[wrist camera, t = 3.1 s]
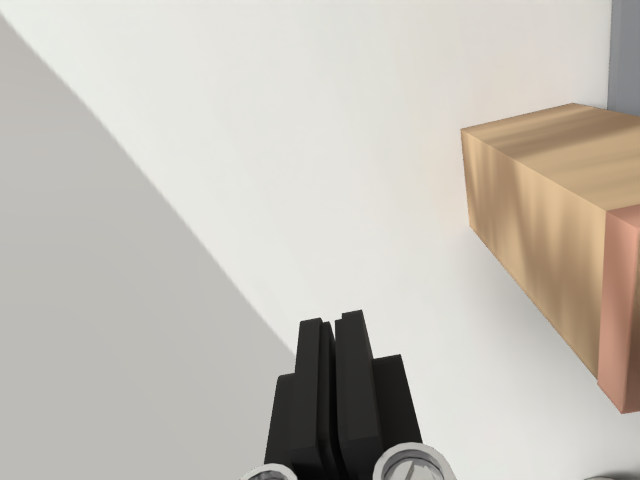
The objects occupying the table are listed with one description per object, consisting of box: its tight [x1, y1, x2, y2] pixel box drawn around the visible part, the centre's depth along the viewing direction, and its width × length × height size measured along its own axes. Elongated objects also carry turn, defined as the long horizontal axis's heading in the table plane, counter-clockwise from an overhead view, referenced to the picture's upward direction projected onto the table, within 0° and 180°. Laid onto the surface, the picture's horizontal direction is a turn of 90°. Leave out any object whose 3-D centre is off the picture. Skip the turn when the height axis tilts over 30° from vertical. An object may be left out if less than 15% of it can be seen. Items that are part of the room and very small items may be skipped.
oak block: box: [461, 103, 640, 414], centre depth 14 cm, size 5×5×12 cm
